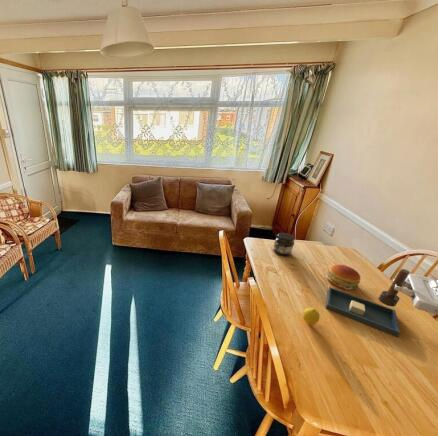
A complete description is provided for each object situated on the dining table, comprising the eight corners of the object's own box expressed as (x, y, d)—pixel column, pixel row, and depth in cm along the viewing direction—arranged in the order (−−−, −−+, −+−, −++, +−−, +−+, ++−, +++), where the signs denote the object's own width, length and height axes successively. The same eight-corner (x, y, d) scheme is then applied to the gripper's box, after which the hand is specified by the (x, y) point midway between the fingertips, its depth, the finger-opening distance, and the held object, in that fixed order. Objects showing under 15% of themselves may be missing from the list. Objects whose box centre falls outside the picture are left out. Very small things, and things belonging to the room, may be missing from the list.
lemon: (300, 315, 102) (305, 302, 98) (315, 321, 99) (321, 307, 96) (300, 324, 98) (306, 311, 94) (316, 330, 95) (322, 316, 92)
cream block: (362, 309, 104) (364, 304, 103) (362, 315, 101) (365, 310, 100) (349, 304, 107) (351, 300, 105) (349, 310, 103) (351, 305, 102)
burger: (329, 288, 117) (336, 273, 113) (320, 272, 129) (326, 258, 124) (361, 294, 113) (369, 279, 109) (349, 277, 125) (356, 262, 120)
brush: (397, 303, 94) (416, 272, 87) (393, 308, 92) (412, 277, 85) (381, 295, 98) (398, 265, 91) (376, 300, 96) (393, 269, 89)
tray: (392, 315, 102) (395, 310, 101) (396, 338, 92) (400, 332, 90) (327, 291, 115) (329, 286, 114) (325, 309, 105) (327, 304, 104)
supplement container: (276, 246, 154) (280, 230, 149) (293, 252, 147) (298, 236, 142) (269, 251, 148) (273, 235, 143) (286, 258, 141) (292, 242, 136)
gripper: (450, 324, 78) (394, 305, 85) (433, 290, 92) (387, 277, 100) (461, 311, 75) (402, 292, 83) (442, 278, 90) (393, 265, 97)
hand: (393, 284), depth 91 cm, fingers closed on brush, 2 cm apart
